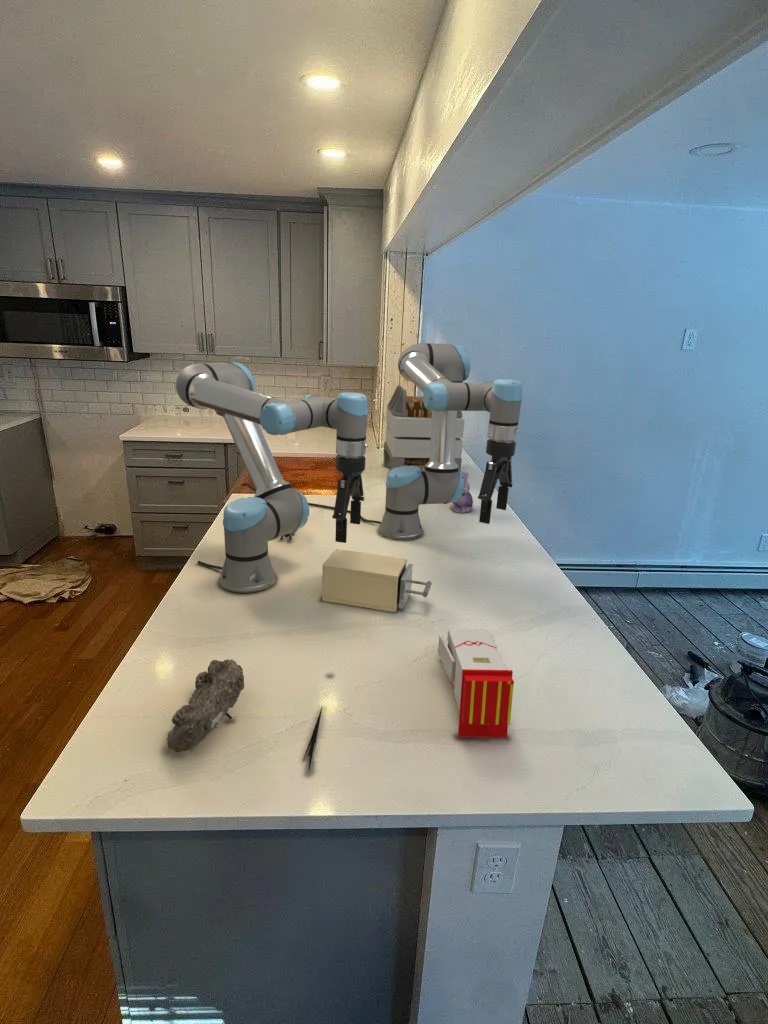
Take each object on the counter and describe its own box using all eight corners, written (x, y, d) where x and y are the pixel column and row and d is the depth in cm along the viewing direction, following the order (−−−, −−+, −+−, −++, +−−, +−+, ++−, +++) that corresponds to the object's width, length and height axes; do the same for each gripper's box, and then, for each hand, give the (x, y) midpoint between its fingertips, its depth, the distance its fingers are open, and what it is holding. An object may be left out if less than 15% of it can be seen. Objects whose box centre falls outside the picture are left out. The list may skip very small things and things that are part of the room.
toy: (488, 613, 130) (523, 677, 101) (484, 667, 133) (517, 744, 104) (435, 612, 130) (455, 676, 101) (432, 666, 133) (451, 743, 103)
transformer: (382, 463, 289) (386, 382, 275) (445, 464, 293) (451, 384, 279) (390, 482, 257) (394, 392, 243) (460, 483, 261) (468, 394, 247)
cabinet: (404, 593, 159) (406, 558, 155) (395, 612, 148) (397, 576, 145) (335, 582, 163) (336, 548, 159) (322, 600, 152) (322, 565, 149)
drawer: (431, 594, 156) (433, 567, 153) (425, 612, 147) (427, 583, 144) (345, 581, 161) (346, 554, 158) (334, 597, 152) (334, 569, 149)
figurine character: (295, 547, 188) (300, 526, 202) (294, 527, 185) (300, 506, 198) (274, 546, 188) (281, 525, 201) (273, 526, 185) (280, 506, 198)
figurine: (459, 514, 221) (463, 477, 216) (445, 506, 229) (448, 470, 224) (479, 511, 225) (483, 475, 220) (464, 503, 234) (467, 468, 228)
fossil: (192, 660, 117) (244, 628, 112) (224, 691, 120) (276, 661, 115) (142, 746, 98) (202, 712, 93) (182, 779, 101) (242, 748, 96)
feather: (331, 679, 122) (336, 673, 122) (307, 777, 96) (313, 769, 95) (324, 675, 122) (329, 669, 121) (298, 772, 95) (304, 764, 95)
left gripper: (351, 469, 132) (348, 552, 139) (376, 445, 155) (373, 518, 162) (320, 465, 133) (319, 548, 141) (350, 443, 156) (347, 515, 164)
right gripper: (499, 450, 137) (490, 532, 144) (529, 434, 158) (519, 506, 165) (470, 446, 141) (463, 525, 148) (503, 430, 161) (495, 501, 168)
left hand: (348, 532), depth 152 cm, fingers open, 13 cm apart
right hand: (493, 515), depth 156 cm, fingers open, 13 cm apart
